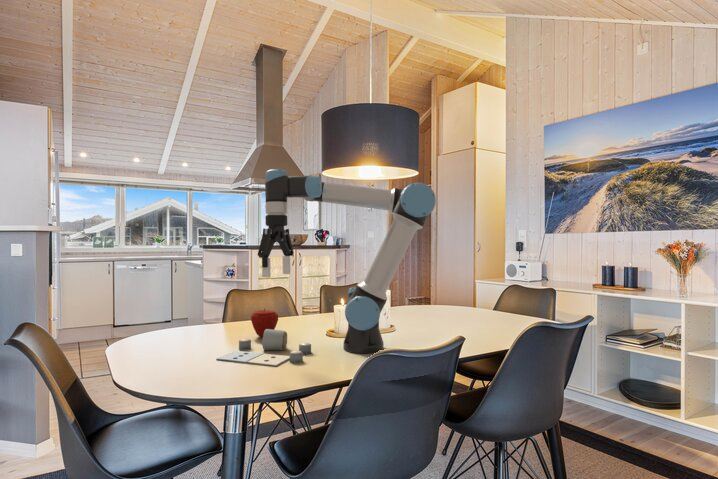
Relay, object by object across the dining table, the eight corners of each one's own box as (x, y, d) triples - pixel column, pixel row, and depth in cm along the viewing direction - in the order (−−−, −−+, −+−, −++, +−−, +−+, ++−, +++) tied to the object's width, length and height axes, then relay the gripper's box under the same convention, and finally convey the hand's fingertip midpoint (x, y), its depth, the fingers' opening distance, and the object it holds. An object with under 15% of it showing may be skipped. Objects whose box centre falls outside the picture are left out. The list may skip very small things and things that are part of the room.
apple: (283, 336, 187) (283, 307, 187) (265, 341, 178) (265, 311, 178) (264, 333, 193) (264, 305, 193) (245, 337, 184) (245, 308, 184)
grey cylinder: (284, 352, 161) (284, 331, 161) (262, 352, 161) (262, 331, 161) (289, 345, 172) (289, 325, 172) (267, 345, 172) (268, 325, 172)
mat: (292, 357, 154) (292, 356, 154) (276, 366, 143) (276, 365, 143) (236, 351, 162) (236, 350, 162) (216, 360, 151) (216, 358, 151)
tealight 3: (313, 352, 162) (313, 343, 162) (307, 355, 158) (307, 345, 158) (302, 351, 164) (302, 342, 164) (296, 353, 160) (296, 344, 160)
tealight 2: (304, 360, 151) (304, 350, 151) (299, 364, 147) (299, 354, 147) (293, 359, 153) (293, 349, 153) (287, 362, 148) (287, 352, 148)
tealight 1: (253, 347, 168) (253, 339, 168) (246, 350, 164) (246, 341, 164) (243, 346, 170) (243, 338, 170) (236, 349, 165) (236, 340, 165)
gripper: (284, 216, 168) (285, 272, 168) (246, 213, 144) (246, 278, 144) (302, 216, 165) (302, 272, 165) (266, 212, 142) (267, 279, 142)
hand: (276, 275), depth 155 cm, fingers open, 13 cm apart
